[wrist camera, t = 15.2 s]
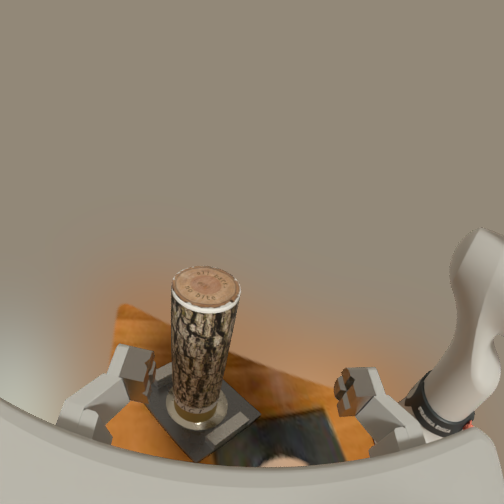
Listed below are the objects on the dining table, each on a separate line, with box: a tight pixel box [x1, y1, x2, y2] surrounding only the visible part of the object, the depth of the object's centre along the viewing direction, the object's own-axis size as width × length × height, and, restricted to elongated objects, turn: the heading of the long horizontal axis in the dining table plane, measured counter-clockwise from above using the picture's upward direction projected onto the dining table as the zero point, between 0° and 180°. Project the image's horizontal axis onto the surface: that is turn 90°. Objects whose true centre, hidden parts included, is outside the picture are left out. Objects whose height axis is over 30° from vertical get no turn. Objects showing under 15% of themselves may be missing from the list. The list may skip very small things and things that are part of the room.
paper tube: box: [171, 266, 241, 423], centre depth 33 cm, size 7×7×25 cm
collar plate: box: [144, 362, 261, 463], centre depth 40 cm, size 16×14×4 cm
